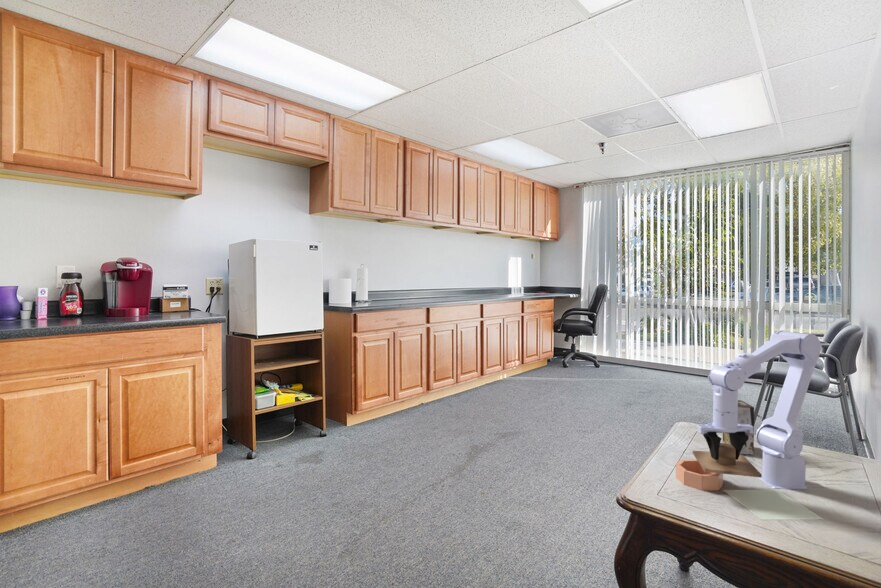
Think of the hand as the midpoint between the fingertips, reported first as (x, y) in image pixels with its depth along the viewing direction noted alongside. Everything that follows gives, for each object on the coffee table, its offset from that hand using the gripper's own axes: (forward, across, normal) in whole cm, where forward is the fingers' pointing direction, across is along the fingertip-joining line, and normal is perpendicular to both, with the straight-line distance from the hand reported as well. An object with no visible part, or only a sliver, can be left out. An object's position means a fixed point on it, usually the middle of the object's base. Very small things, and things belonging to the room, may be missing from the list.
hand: (724, 458), depth 122 cm
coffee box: (+9, -23, -29) cm, 38 cm away
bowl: (+9, +4, -5) cm, 11 cm away
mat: (+9, -7, +8) cm, 14 cm away
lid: (+2, 0, 0) cm, 2 cm away
